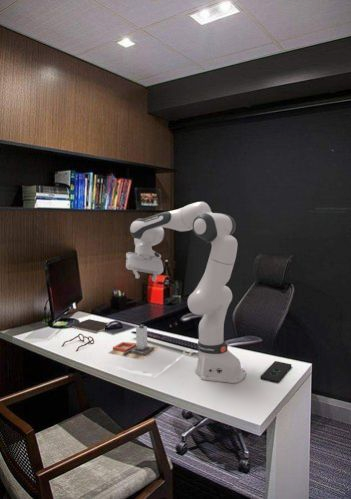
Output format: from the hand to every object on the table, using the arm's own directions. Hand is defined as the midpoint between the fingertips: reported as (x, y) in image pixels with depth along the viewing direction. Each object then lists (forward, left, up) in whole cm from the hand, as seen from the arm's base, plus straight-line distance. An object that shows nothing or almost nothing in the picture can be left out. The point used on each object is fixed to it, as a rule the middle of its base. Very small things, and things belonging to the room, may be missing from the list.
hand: (146, 279), depth 181 cm
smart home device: (-62, -9, -40) cm, 75 cm away
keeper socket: (+16, -1, -38) cm, 41 cm away
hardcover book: (+60, -27, -41) cm, 77 cm away
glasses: (+45, +3, -40) cm, 60 cm away
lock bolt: (+5, -1, -38) cm, 39 cm away
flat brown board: (+10, -1, -40) cm, 41 cm away
